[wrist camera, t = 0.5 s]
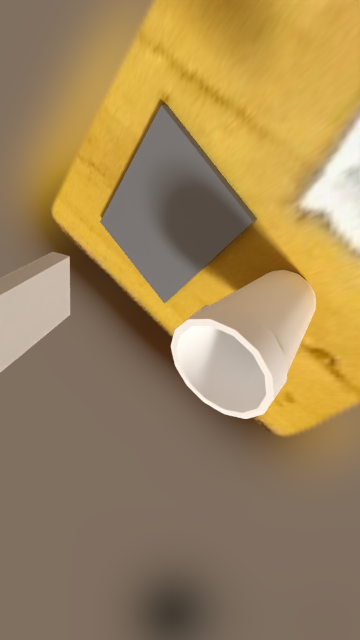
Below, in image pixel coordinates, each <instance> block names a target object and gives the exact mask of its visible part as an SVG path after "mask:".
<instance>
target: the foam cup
mask: <svg viewBox="0 0 360 640" xmlns="http://www.w3.org/2000/svg"><path fill="white" fill-rule="evenodd" d="M315 309H316V295H315V293H314V291H313V289H312V287H311V285H310V283H308V282H307V281H306V280H305V279H304V278H303V277H301V276H300V275H299V274H297V273H294V272H291V271H287V270H277V271H271V272H270V273H267V274H265V275H263V276H262V277H260V278H258V279H256V280H255V281H253V282H251V283H249V284H248V285H246V286H244V287H242V288H240V289H239V290H237V291H235V292H233V293H232V294H230V295H228V296H226V297H225V298H223V299H221V300H219V301H217V302H216V303H214V304H212V305H206V306H204V307H203V308H202V309H200V310H199V311H198V312H196V313H195V314H194V315H192V316H191V317H190V318H189V319H187V320H186V321H185V322H184V323H183V324H181V325H180V326H179V327H178V328H176V329H175V331H174V335H173V340H172V344H171V350H172V354H173V358H174V363H175V366H176V368H177V370H178V371H179V373H180V375H181V376H182V378H183V379H184V381H185V383H186V385H187V386H188V387H189V388H190V389H191V390H192V391H193V392H194V393H195V394H196V395H197V396H198V397H199V398H200V399H201V400H202V401H203V402H204V403H206V404H208V405H210V406H211V407H213V408H215V409H216V410H218V411H220V412H222V413H223V414H226V415H230V416H235V417H240V418H245V419H247V418H251V417H255V416H259V415H262V414H264V413H265V411H266V410H267V409H268V407H269V406H270V404H271V403H272V401H273V400H274V398H275V397H276V396H277V394H278V393H279V391H280V390H281V388H282V387H283V385H284V384H285V382H286V381H287V372H288V370H289V368H290V366H291V364H292V361H293V359H294V357H295V355H296V352H297V350H298V348H299V346H300V343H301V341H302V339H303V337H304V334H305V332H306V330H307V328H308V325H309V323H310V321H311V319H312V316H313V314H314V311H315Z"/></svg>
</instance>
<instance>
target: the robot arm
mask: <svg viewBox="0 0 360 640" xmlns="http://www.w3.org/2000/svg"><path fill="white" fill-rule="evenodd" d="M69 315H70V257H69V256H66V255H63V254H59V253H55V252H51V253H49V254H47V255H45V256H43V257H41V258H40V259H37V260H35V261H33V262H31V263H29V264H27V265H25V266H23V267H21V268H19V269H17V270H16V271H13V272H11V273H9V274H7V275H5V276H3V277H1V278H0V372H1V371H3V369H5V368H6V367H7V366H8V365H10V364H11V363H12V362H13V361H14V360H16V359H17V358H18V357H19V356H21V355H22V354H23V353H24V352H26V351H27V350H28V349H29V348H30V347H31V346H33V345H34V344H35V343H36V342H37V341H39V340H40V339H41V338H42V337H44V336H45V335H46V334H47V333H48V332H50V331H51V330H52V329H53V328H55V327H56V326H57V325H58V324H59V323H61V322H62V321H63V320H64V319H65V318H67V317H68V316H69Z"/></svg>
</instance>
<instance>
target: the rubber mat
mask: <svg viewBox="0 0 360 640" xmlns="http://www.w3.org/2000/svg"><path fill="white" fill-rule="evenodd" d="M255 220H256V217H255V216H254V215H253V214H252V212H251V211H250V210H249V209H248V207H247V206H246V205H245V203H244V202H243V201H242V200H241V198H240V197H239V196H238V195H237V193H236V192H235V191H234V189H233V188H232V187H231V186H230V184H229V183H228V182H227V181H226V179H225V178H224V177H223V175H222V174H221V173H220V172H219V170H218V169H217V168H216V167H215V165H214V164H213V163H212V161H211V160H210V159H209V158H208V156H207V155H206V154H205V153H204V151H203V150H202V149H201V147H200V146H199V145H198V144H197V142H196V141H195V140H194V139H193V137H192V136H191V135H190V134H189V132H188V131H187V130H186V128H185V127H184V126H183V125H182V123H181V122H180V121H179V120H178V118H177V117H176V116H175V114H174V113H173V112H172V111H171V109H170V108H169V107H168V106H167V104H166V105H161V107H160V108H159V110H158V112H157V114H156V116H155V118H154V120H153V122H152V124H151V126H150V128H149V130H148V131H147V133H146V135H145V137H144V139H143V141H142V143H141V145H140V147H139V149H138V151H137V152H136V154H135V156H134V158H133V160H132V162H131V164H130V166H129V168H128V170H127V172H126V173H125V175H124V177H123V179H122V181H121V183H120V185H119V187H118V189H117V191H116V193H115V194H114V196H113V198H112V200H111V202H110V204H109V206H108V208H107V210H106V212H105V214H104V216H103V217H102V219H101V221H100V222H101V223H102V225H103V226H104V227H105V229H106V230H107V231H108V232H109V234H110V235H111V236H112V237H113V239H114V240H115V241H116V243H117V244H118V245H119V246H120V248H121V249H122V250H123V251H124V253H125V254H126V255H127V256H128V258H129V259H130V260H131V262H132V263H133V264H134V265H135V267H136V268H137V269H138V270H139V272H140V273H141V274H142V275H143V277H144V278H145V279H146V281H147V282H148V283H149V284H150V286H151V287H152V288H153V289H154V291H155V292H156V293H157V294H158V296H159V297H160V298H161V300H162V301H163V302H164V303H165V302H167V301H168V300H169V299H170V298H171V297H172V296H174V295H175V294H176V293H177V292H178V291H179V290H180V289H181V288H182V287H183V286H184V285H186V284H187V283H188V282H189V281H190V280H191V279H192V278H193V277H194V276H195V275H196V274H198V273H199V272H200V271H201V270H202V269H203V268H204V267H205V266H206V265H207V264H208V263H210V262H211V261H212V260H213V259H214V258H215V257H216V256H217V255H218V254H219V253H220V252H222V251H223V250H224V249H225V248H226V247H227V246H228V245H229V244H230V243H231V242H232V241H234V240H235V239H236V238H237V237H238V236H239V235H240V234H241V233H242V232H243V231H244V230H246V229H247V228H248V227H249V226H250V225H251V224H252V223H253V222H254V221H255Z"/></svg>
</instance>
